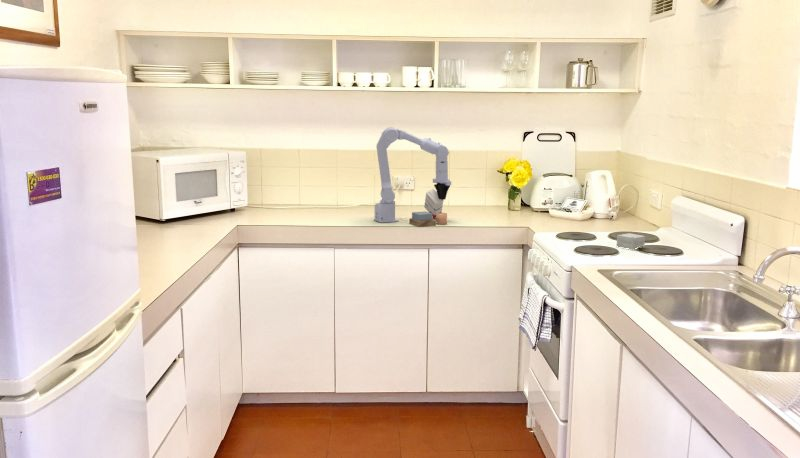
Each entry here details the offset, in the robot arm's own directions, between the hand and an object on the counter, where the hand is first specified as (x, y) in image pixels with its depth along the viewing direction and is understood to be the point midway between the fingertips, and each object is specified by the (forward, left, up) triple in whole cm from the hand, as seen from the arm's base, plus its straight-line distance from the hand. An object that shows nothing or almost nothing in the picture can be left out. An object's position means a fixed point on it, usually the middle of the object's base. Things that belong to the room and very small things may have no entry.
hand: (442, 199), depth 323 cm
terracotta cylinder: (-4, -8, -11) cm, 14 cm away
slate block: (-14, -6, -8) cm, 17 cm away
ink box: (+1, +11, -7) cm, 13 cm away
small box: (+41, -82, -11) cm, 92 cm away
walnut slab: (-13, -6, -11) cm, 18 cm away
